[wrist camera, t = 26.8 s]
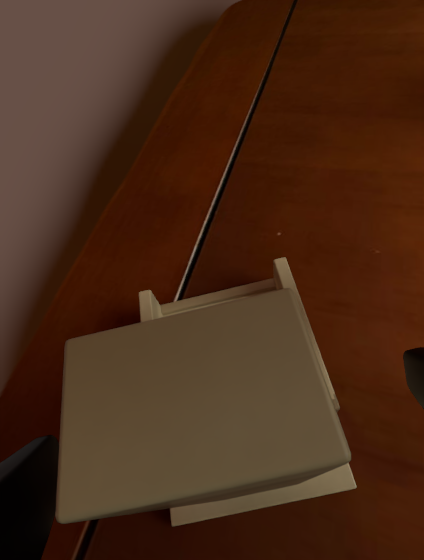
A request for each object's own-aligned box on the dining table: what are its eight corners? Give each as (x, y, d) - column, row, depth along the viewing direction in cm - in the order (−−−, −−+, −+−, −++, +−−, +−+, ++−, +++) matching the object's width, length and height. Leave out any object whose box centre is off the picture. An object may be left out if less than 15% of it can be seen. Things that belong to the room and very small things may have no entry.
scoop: (354, 488, 14) (630, 474, 3) (174, 525, 14) (-168, 636, 3) (284, 283, 19) (292, 7, 8) (154, 314, 19) (-6, 88, 8)
